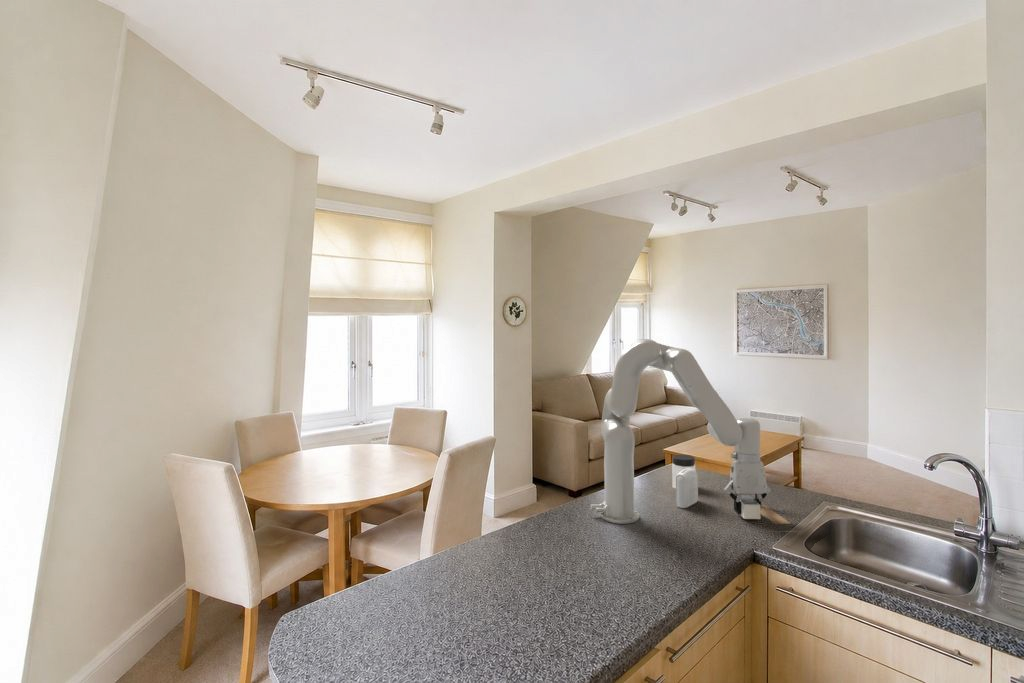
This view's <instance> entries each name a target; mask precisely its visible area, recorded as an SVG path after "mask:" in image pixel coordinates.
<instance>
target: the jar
mask: <svg viewBox="0 0 1024 683" xmlns="http://www.w3.org/2000/svg"><path fill="white" fill-rule="evenodd" d="M671 459H672V464H671V467H672V468H671V471H672V473H671V476H672V489H675V490H676V476H677V475H678V473H679V472H681V471H682V470H684V469H687V468H691V469H694V470H696V457H695V456H693V455H690V454H682V453H681V454H674V455H672V458H671Z"/></svg>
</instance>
